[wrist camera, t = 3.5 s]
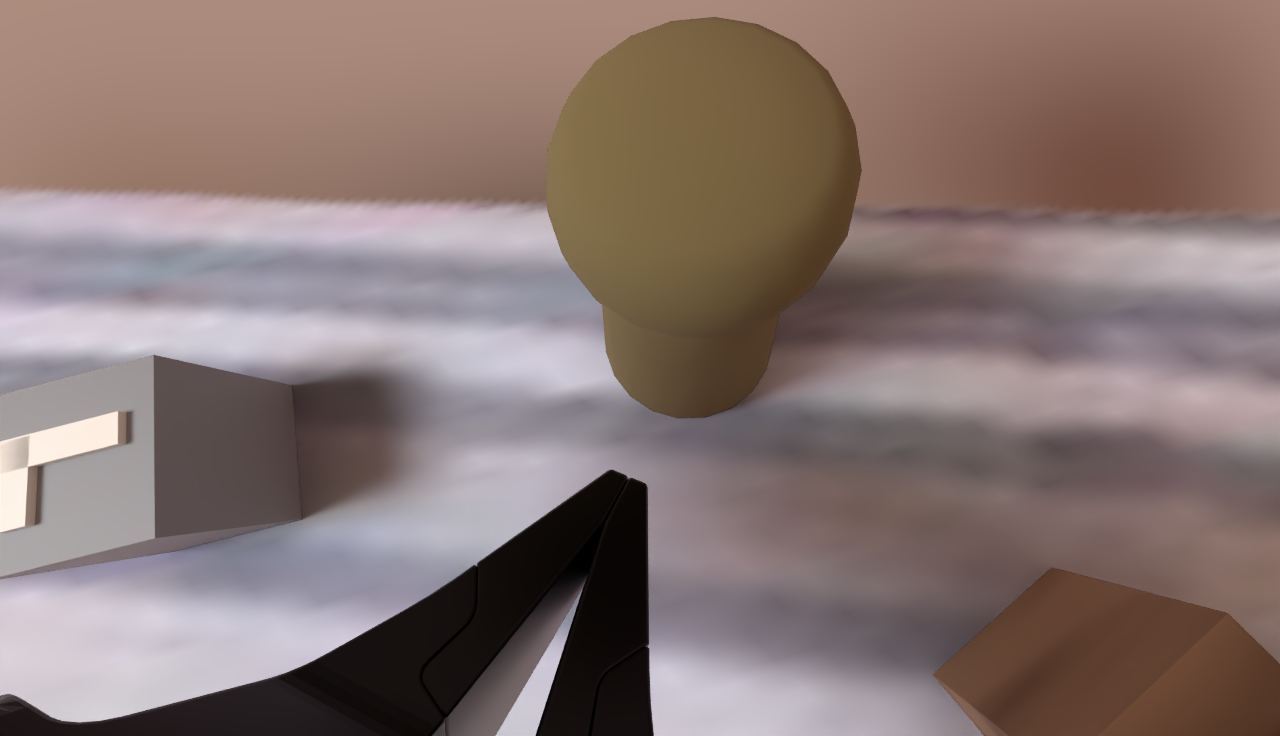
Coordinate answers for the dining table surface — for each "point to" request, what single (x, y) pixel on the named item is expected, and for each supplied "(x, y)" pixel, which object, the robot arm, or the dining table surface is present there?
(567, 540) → the robot arm
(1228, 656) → the walnut marked block
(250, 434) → the slate marked block
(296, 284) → the dining table surface
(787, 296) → the cork
